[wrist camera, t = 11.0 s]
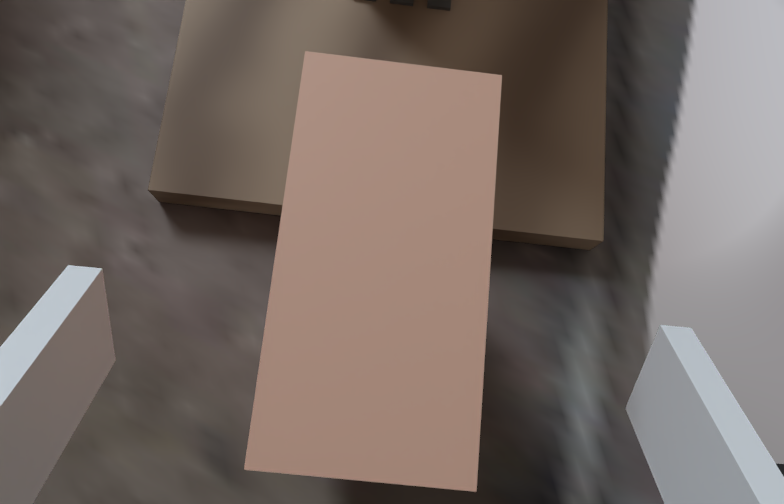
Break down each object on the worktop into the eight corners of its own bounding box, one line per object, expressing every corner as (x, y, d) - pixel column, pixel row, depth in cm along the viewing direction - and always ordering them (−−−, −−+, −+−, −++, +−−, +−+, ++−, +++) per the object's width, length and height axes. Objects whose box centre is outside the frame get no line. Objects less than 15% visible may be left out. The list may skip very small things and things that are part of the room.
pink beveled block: (298, 438, 23) (244, 469, 11) (325, 221, 24) (305, 51, 13) (411, 449, 23) (476, 492, 11) (429, 232, 25) (501, 74, 13)
